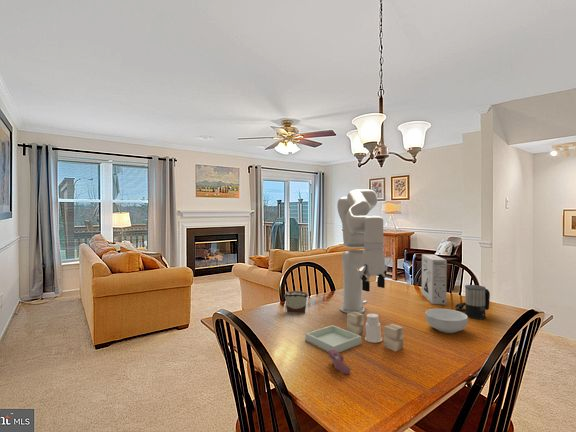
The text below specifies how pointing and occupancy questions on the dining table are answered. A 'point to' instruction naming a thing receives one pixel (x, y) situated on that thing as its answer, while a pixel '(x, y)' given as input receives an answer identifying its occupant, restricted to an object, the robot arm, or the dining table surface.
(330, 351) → the video game controller
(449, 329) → the cereal bowl
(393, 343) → the maple block
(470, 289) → the milk frother
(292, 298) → the food container
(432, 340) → the dining table surface
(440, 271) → the cereal box
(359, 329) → the maple block
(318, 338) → the tray
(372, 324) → the downlight
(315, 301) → the dining table surface
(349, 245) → the robot arm
